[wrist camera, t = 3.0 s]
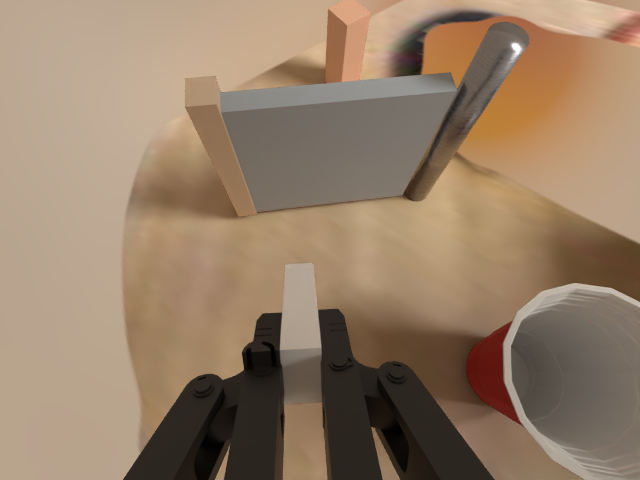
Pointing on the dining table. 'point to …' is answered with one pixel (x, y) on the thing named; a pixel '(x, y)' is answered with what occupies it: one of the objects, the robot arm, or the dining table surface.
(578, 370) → the plastic cup
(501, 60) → the gate post
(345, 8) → the post
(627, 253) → the dining table surface
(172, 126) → the dining table surface
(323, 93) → the panel
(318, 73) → the dining table surface
